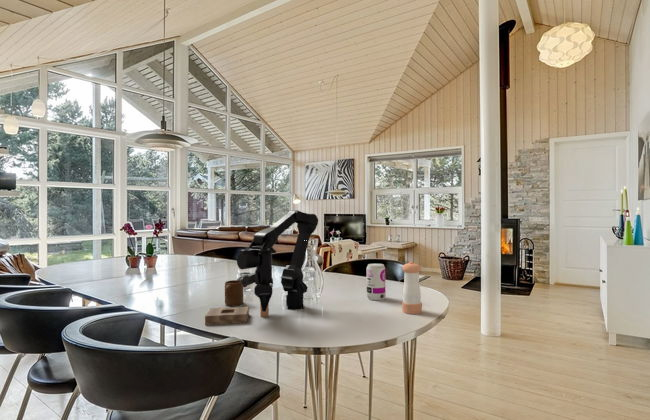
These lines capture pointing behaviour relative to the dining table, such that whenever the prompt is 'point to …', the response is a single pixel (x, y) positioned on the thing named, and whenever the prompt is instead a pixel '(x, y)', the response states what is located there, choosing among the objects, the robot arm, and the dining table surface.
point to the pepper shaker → (411, 289)
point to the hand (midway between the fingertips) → (264, 308)
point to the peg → (264, 314)
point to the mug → (233, 293)
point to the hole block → (227, 315)
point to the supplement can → (376, 282)
